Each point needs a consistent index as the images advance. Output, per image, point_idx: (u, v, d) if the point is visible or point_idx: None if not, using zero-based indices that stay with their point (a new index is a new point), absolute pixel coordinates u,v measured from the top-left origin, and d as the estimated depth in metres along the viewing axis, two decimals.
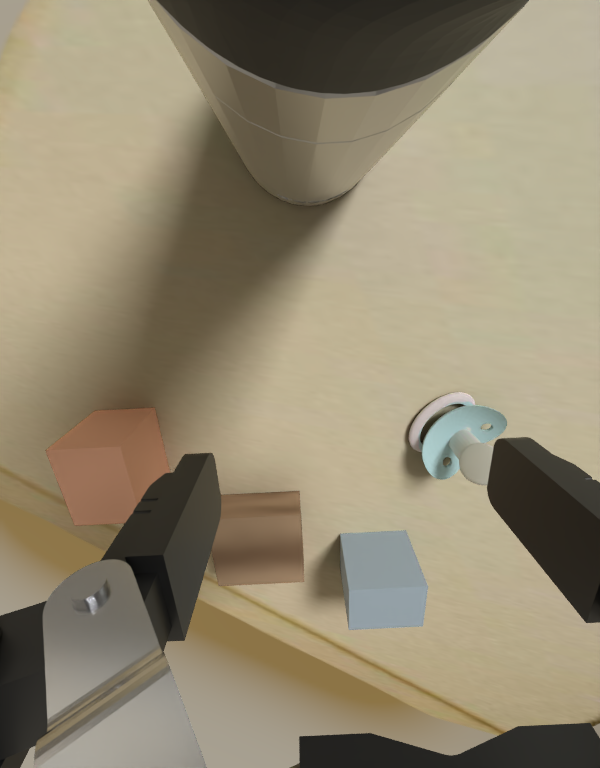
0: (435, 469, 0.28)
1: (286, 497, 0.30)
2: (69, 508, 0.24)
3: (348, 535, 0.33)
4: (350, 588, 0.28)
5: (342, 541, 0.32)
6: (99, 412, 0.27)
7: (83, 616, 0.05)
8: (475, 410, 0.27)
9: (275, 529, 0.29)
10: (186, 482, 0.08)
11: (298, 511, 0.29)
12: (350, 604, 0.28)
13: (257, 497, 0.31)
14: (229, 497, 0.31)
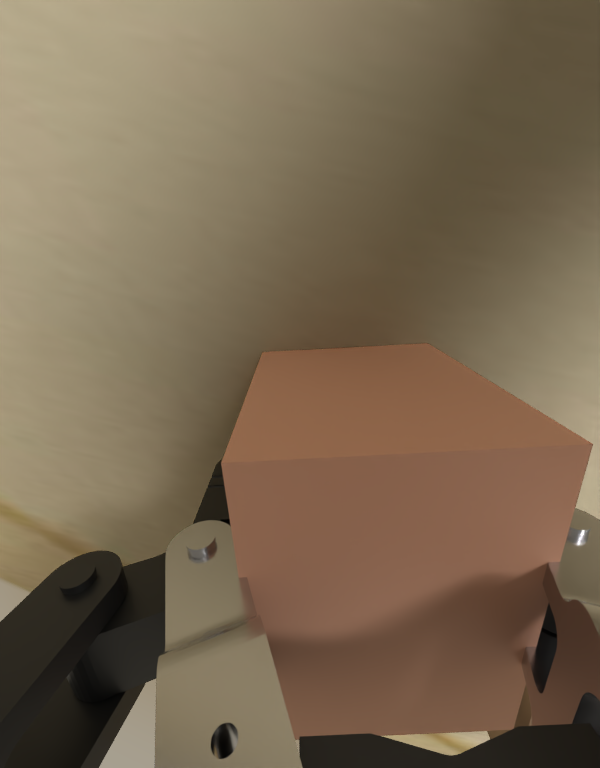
0: None
1: None
2: None
3: None
4: None
5: None
6: (283, 355, 0.10)
7: (203, 563, 0.06)
8: None
9: None
10: None
11: None
12: None
13: None
14: None
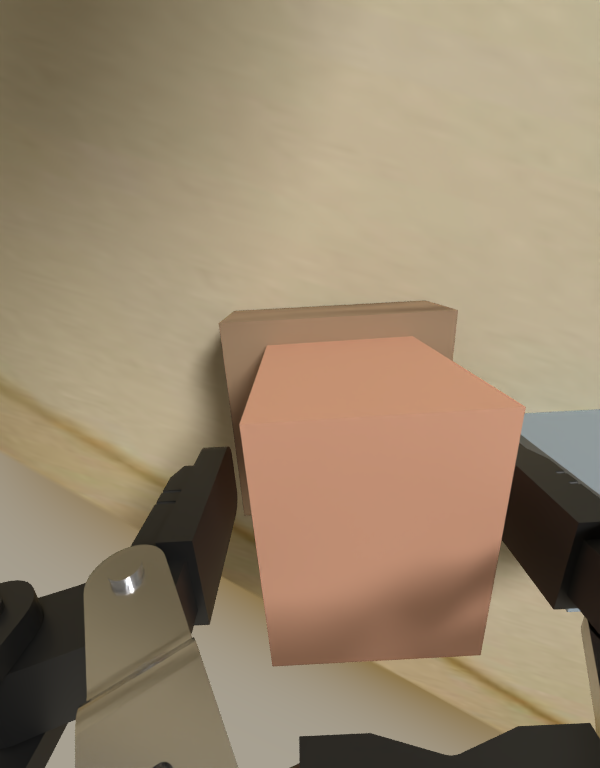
0: None
1: (402, 304, 0.13)
2: (271, 619, 0.08)
3: None
4: None
5: None
6: (285, 347, 0.11)
7: (122, 596, 0.05)
8: None
9: None
10: (207, 474, 0.08)
11: (449, 308, 0.12)
12: None
13: (334, 307, 0.13)
14: (272, 310, 0.14)
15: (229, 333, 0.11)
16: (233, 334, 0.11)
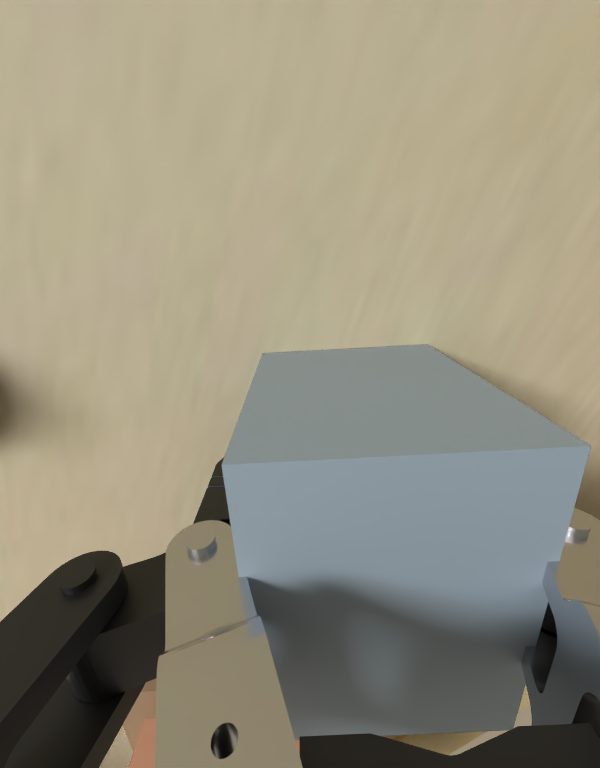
0: None
1: None
2: None
3: None
4: None
5: None
6: None
7: (203, 563, 0.06)
8: None
9: None
10: None
11: None
12: (349, 733, 0.07)
13: None
14: None
15: None
16: None
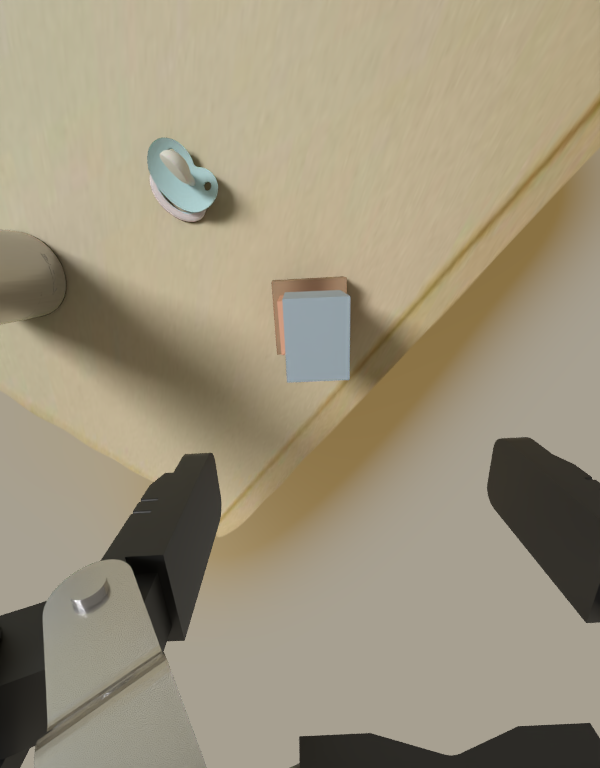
0: (210, 198, 0.34)
1: None
2: None
3: None
4: None
5: None
6: None
7: (83, 616, 0.05)
8: (155, 168, 0.33)
9: None
10: (186, 482, 0.08)
11: None
12: (308, 380, 0.27)
13: None
14: None
15: (280, 351, 0.38)
16: (280, 350, 0.38)
